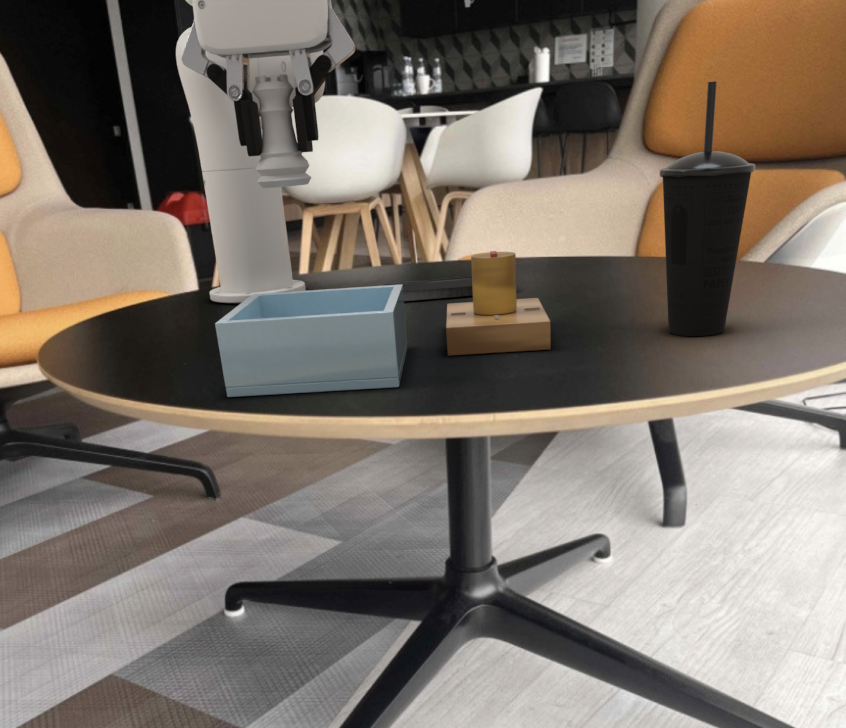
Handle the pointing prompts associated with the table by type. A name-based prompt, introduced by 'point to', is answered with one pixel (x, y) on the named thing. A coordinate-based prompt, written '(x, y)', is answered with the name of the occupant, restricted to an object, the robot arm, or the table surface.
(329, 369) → the basin
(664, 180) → the drinking cup
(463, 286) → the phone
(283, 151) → the rook chess piece
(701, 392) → the table surface
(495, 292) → the red-marked tan cylinder
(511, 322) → the panel
